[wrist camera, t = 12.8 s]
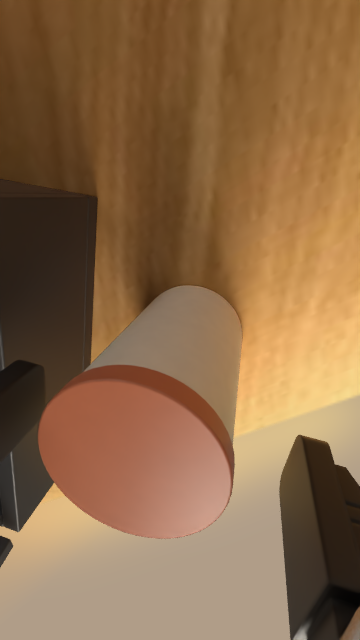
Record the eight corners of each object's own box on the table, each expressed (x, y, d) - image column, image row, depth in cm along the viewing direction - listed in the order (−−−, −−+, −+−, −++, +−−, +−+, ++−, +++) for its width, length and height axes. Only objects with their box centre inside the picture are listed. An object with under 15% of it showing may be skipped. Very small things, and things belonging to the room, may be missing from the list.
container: (170, 262, 16) (74, 337, 7) (266, 320, 16) (279, 463, 7) (126, 344, 18) (15, 471, 10) (208, 395, 18) (168, 565, 10)
